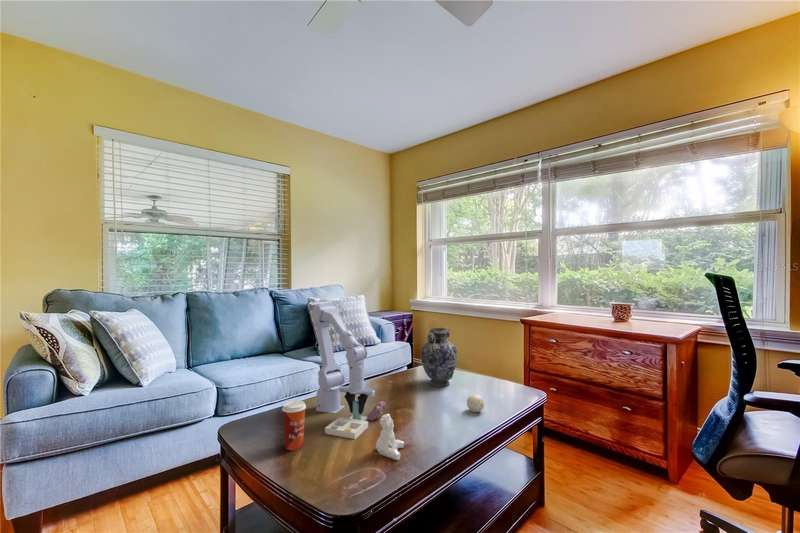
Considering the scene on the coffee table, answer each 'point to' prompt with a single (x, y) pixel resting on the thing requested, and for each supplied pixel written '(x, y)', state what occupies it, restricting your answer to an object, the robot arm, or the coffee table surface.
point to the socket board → (346, 427)
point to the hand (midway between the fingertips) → (356, 412)
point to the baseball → (475, 403)
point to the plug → (356, 410)
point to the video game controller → (377, 411)
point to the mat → (361, 417)
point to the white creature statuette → (388, 439)
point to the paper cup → (294, 424)
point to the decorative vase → (439, 357)
